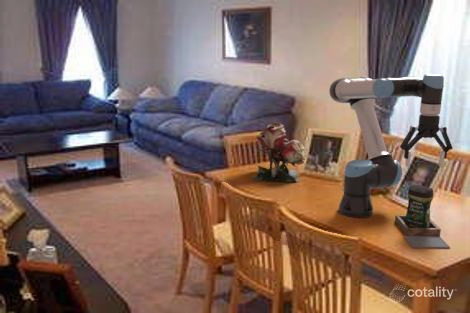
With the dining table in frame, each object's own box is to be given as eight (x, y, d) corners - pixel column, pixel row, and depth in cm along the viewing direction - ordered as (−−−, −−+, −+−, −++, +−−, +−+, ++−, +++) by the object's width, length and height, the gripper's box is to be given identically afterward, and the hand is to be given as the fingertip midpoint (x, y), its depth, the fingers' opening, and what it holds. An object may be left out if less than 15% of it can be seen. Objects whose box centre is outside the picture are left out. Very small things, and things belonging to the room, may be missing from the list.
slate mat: (412, 248, 190) (412, 246, 190) (404, 237, 200) (404, 235, 200) (449, 248, 190) (449, 246, 190) (439, 237, 200) (439, 236, 200)
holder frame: (406, 236, 201) (407, 229, 200) (394, 221, 216) (395, 215, 215) (439, 236, 201) (440, 229, 200) (425, 221, 216) (426, 215, 215)
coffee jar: (401, 228, 209) (405, 185, 204) (409, 223, 214) (413, 181, 210) (424, 234, 203) (429, 191, 198) (431, 229, 208) (436, 186, 204)
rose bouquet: (307, 182, 268) (310, 127, 261) (253, 182, 269) (254, 127, 261) (301, 169, 293) (304, 119, 286) (251, 169, 293) (252, 118, 286)
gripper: (401, 115, 193) (396, 168, 198) (465, 116, 194) (458, 169, 199) (395, 112, 200) (390, 163, 206) (456, 112, 201) (450, 164, 206)
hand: (424, 166), depth 202 cm, fingers open, 13 cm apart
